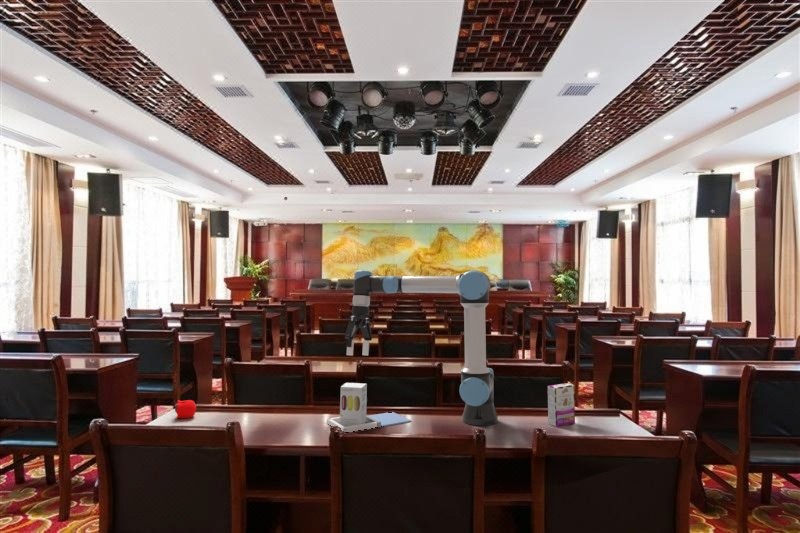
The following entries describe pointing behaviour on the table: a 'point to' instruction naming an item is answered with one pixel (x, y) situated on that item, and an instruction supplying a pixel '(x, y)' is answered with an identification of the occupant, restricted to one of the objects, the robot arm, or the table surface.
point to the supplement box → (353, 404)
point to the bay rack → (371, 421)
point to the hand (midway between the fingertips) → (357, 355)
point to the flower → (186, 409)
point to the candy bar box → (561, 405)
